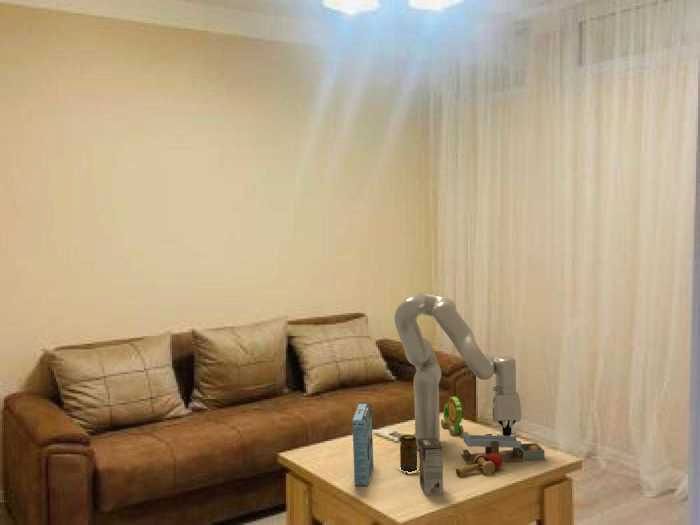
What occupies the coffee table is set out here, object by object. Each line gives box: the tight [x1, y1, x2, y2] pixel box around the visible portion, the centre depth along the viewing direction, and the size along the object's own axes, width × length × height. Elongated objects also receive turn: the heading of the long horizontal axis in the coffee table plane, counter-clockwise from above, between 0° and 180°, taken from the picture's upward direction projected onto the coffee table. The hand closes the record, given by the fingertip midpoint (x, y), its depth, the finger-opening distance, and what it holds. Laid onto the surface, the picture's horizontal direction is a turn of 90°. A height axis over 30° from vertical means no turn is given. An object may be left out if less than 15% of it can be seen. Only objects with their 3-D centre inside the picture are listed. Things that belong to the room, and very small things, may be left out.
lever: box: [463, 431, 522, 449], centre depth 261 cm, size 20×12×4 cm, turn 95°
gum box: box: [351, 403, 374, 486], centre depth 245 cm, size 20×5×23 cm, turn 172°
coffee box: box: [418, 438, 444, 496], centre depth 232 cm, size 9×6×16 cm
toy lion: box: [440, 396, 465, 436], centre depth 289 cm, size 16×5×15 cm, turn 13°
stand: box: [461, 433, 525, 466], centre depth 259 cm, size 21×9×8 cm, turn 95°
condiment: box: [399, 434, 420, 475], centre depth 250 cm, size 7×8×12 cm
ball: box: [529, 445, 538, 451], centre depth 260 cm, size 4×4×4 cm
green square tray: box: [520, 442, 545, 462], centre depth 260 cm, size 8×8×4 cm
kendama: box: [455, 453, 503, 478], centre depth 246 cm, size 8×6×18 cm
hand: (507, 436), depth 265 cm, fingers closed
